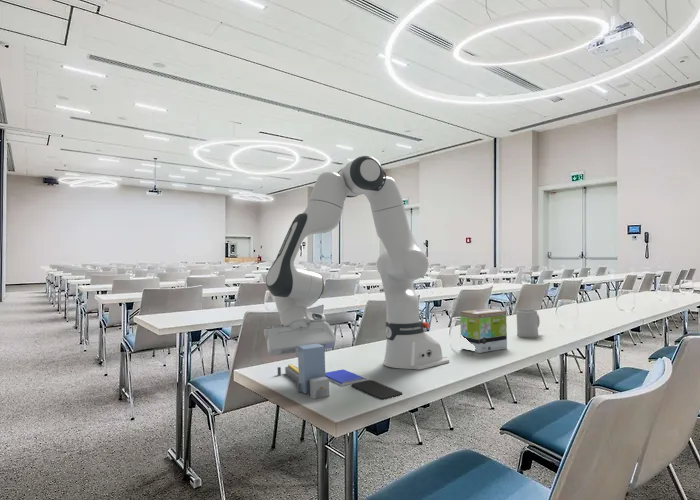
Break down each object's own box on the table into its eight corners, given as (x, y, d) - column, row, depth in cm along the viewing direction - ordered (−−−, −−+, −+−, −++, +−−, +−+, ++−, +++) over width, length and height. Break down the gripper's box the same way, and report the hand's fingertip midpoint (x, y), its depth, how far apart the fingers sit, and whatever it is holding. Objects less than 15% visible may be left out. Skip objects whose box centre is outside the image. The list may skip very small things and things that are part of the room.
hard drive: (365, 377, 121) (344, 368, 132) (341, 382, 117) (321, 373, 127) (365, 382, 121) (344, 373, 132) (341, 387, 117) (321, 378, 127)
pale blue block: (319, 385, 117) (318, 343, 118) (325, 390, 113) (324, 346, 113) (299, 388, 115) (297, 345, 115) (304, 393, 110) (303, 349, 111)
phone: (381, 398, 104) (349, 384, 116) (381, 402, 104) (349, 387, 116) (404, 393, 108) (371, 379, 120) (404, 396, 108) (371, 382, 120)
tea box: (480, 354, 150) (479, 313, 151) (460, 349, 159) (458, 311, 159) (508, 348, 158) (506, 309, 158) (487, 344, 166) (486, 307, 167)
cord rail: (302, 370, 135) (302, 357, 135) (336, 394, 109) (335, 377, 109) (277, 374, 131) (276, 360, 131) (306, 399, 106) (305, 382, 106)
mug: (529, 338, 176) (528, 312, 176) (513, 335, 184) (512, 310, 184) (547, 335, 182) (546, 310, 182) (530, 332, 189) (529, 308, 190)
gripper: (264, 320, 120) (273, 361, 110) (329, 314, 128) (343, 351, 119) (260, 333, 123) (269, 374, 114) (324, 326, 132) (337, 364, 123)
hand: (307, 362), depth 117 cm, fingers closed, pressing on pale blue block
